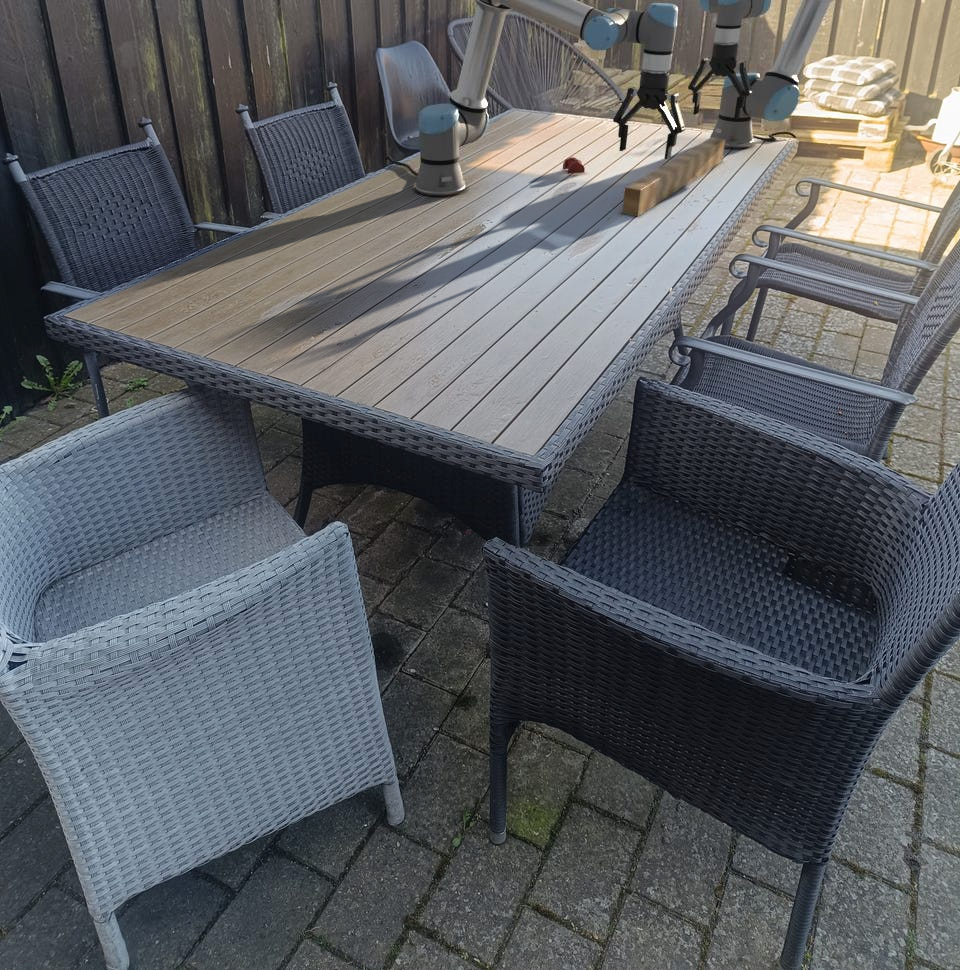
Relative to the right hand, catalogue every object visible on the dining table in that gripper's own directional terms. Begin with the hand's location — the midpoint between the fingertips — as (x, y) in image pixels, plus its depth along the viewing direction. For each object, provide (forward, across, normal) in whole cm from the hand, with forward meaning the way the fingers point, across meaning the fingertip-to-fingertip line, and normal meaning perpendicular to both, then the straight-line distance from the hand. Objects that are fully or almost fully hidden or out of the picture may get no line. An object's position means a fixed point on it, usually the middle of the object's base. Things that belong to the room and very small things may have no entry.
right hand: (716, 116), depth 272 cm
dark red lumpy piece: (+14, +34, +32) cm, 49 cm away
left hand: (-1, +1, +55) cm, 55 cm away
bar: (+14, 0, +28) cm, 32 cm away
